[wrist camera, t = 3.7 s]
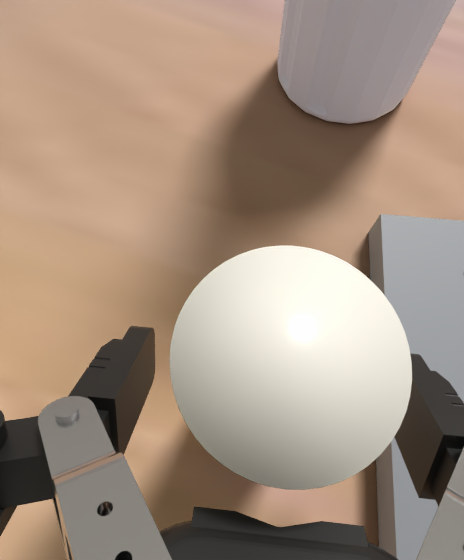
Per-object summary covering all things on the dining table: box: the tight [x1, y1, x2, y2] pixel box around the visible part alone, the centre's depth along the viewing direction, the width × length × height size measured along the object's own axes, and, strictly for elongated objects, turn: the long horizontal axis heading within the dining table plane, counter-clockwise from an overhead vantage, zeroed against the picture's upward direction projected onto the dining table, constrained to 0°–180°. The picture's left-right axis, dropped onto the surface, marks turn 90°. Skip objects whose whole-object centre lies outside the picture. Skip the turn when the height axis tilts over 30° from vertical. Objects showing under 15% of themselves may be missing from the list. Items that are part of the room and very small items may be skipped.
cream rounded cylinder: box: [170, 246, 412, 490], centre depth 13 cm, size 4×4×13 cm
